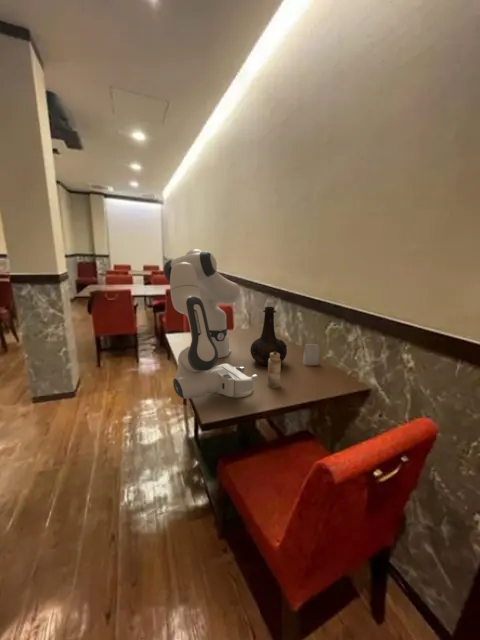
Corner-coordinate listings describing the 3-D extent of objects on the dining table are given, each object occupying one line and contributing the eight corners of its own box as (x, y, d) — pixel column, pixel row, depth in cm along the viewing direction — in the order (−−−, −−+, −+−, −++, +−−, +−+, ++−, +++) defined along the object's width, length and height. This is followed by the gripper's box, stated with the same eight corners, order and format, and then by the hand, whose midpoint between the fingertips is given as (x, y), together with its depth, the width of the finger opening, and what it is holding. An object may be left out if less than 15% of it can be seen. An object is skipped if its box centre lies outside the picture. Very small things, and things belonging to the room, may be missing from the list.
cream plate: (214, 387, 124) (214, 385, 123) (241, 381, 130) (241, 379, 130) (229, 400, 113) (230, 398, 113) (259, 393, 119) (259, 390, 119)
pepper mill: (265, 384, 128) (266, 350, 125) (274, 381, 131) (276, 349, 128) (272, 388, 124) (273, 354, 121) (282, 386, 126) (283, 352, 123)
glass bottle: (285, 370, 143) (288, 311, 138) (247, 367, 147) (248, 309, 141) (287, 358, 160) (290, 305, 155) (252, 355, 164) (254, 303, 158)
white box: (318, 365, 152) (319, 345, 150) (304, 365, 151) (306, 345, 149) (315, 362, 156) (317, 343, 154) (302, 362, 155) (303, 343, 153)
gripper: (206, 377, 122) (236, 371, 129) (232, 398, 105) (265, 390, 112) (206, 362, 121) (236, 357, 128) (232, 381, 104) (265, 373, 111)
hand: (250, 372), depth 120 cm, fingers open, 8 cm apart
